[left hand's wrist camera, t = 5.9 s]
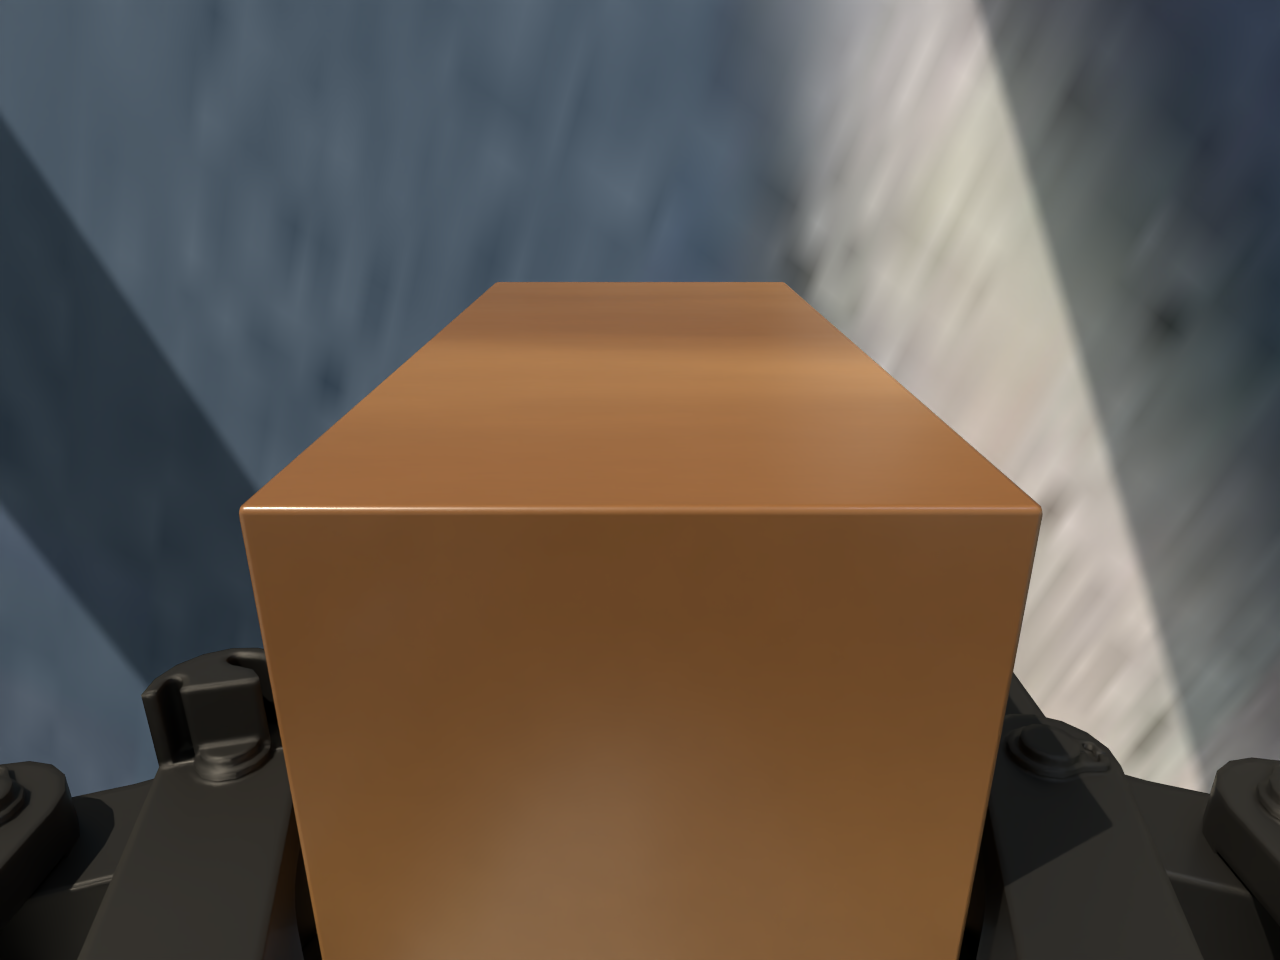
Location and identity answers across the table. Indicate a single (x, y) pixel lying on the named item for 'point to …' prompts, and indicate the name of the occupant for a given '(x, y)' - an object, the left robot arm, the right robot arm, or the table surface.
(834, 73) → the table surface
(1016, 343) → the table surface
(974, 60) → the table surface
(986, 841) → the left robot arm
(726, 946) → the bar
